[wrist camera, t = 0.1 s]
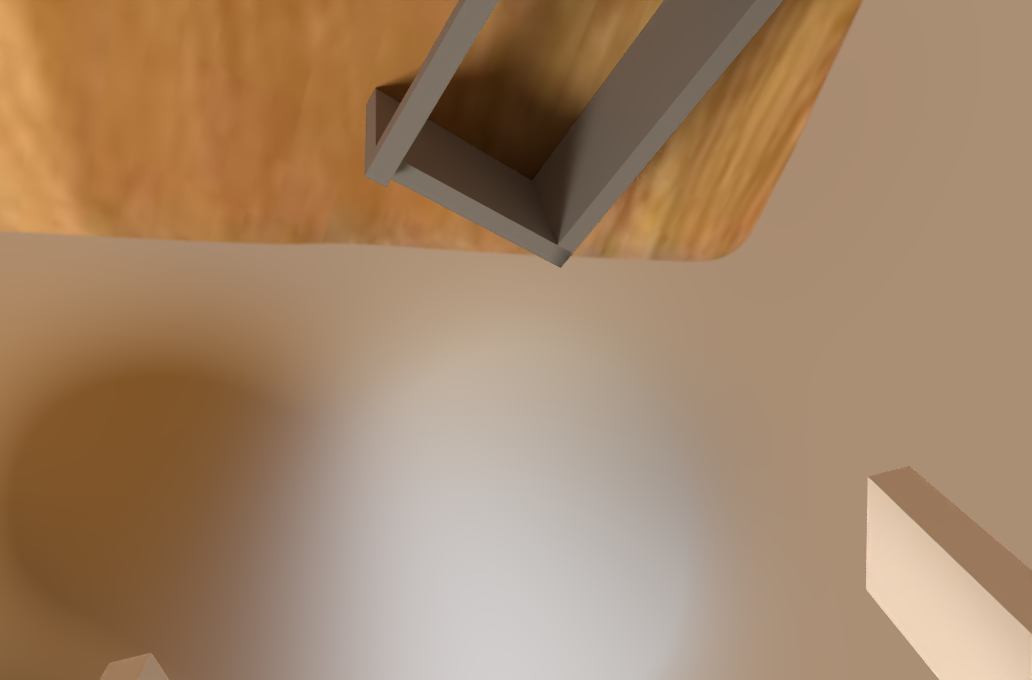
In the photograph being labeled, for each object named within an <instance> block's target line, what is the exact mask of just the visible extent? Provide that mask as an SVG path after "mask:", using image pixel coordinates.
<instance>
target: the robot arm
mask: <svg viewBox="0 0 1032 680" xmlns="http://www.w3.org/2000/svg"><path fill="white" fill-rule="evenodd" d="M867 502H868V503H867V563H866V565H867V566H866V590H867V591H868V592H869V593H870V594H871V596H872V597H873V598H874V599H875V601H876V602H877V603H878V604H879V606H880V607H881V608H882V609H883V610H884V612H885V613H886V614H887V615H888V617H889V618H890V619H891V620H892V622H893V623H894V624H895V625H896V627H897V628H898V629H899V630H900V631H901V633H902V634H903V635H904V636H905V638H906V639H907V640H908V641H909V643H910V644H911V645H912V646H913V647H914V649H915V650H916V651H917V652H918V654H919V655H920V656H921V657H922V659H923V660H924V661H925V662H926V663H927V665H928V666H929V667H930V668H931V670H932V671H933V672H934V673H935V675H936V676H937V677H938V678H939V680H1032V570H1031V569H1029V568H1028V567H1027V566H1026V565H1024V564H1023V563H1022V562H1021V561H1020V560H1019V559H1018V558H1016V557H1015V556H1014V555H1013V554H1012V553H1010V552H1009V551H1008V550H1007V549H1006V548H1005V547H1004V546H1002V545H1001V544H1000V543H999V542H998V541H996V540H995V539H994V538H993V537H992V536H991V535H989V534H988V533H987V532H986V531H985V530H983V529H982V528H981V527H980V526H979V525H978V524H977V523H975V522H974V521H973V520H972V519H971V518H970V517H968V516H967V515H966V514H965V513H964V512H962V511H961V510H960V509H959V508H958V507H956V506H955V505H954V504H953V503H952V502H951V501H950V500H948V499H947V498H946V497H945V496H944V495H943V494H941V493H940V492H939V491H938V490H936V489H935V488H934V487H933V486H932V485H931V484H930V483H928V482H927V481H926V480H925V479H924V478H923V477H921V476H920V475H919V474H918V473H917V472H916V471H914V470H913V469H912V468H911V467H905V468H901V469H897V470H893V471H889V472H885V473H881V474H876V475H873V476H868V501H867ZM100 680H169V679H168V677H167V676H166V674H165V673H164V671H163V670H162V668H161V667H160V665H159V664H158V662H157V661H156V659H155V658H154V656H153V655H152V653H148V654H144V655H140V656H136V657H132V658H128V659H124V660H120V661H116V662H111V663H109V664H108V666H107V668H106V670H105V671H104V673H103V675H102V677H101V678H100Z"/></svg>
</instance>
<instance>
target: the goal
mask: <svg viewBox="0 0 1032 680" xmlns="http://www.w3.org/2000/svg"><path fill="white" fill-rule="evenodd" d="M498 1H499V0H459V1H458V3H457V5H456V7H455V8H454V10H453V12H452V14H451V15H450V17H449V19H448V21H447V22H446V24H445V26H444V28H443V29H442V31H441V33H440V35H439V36H438V38H437V40H436V42H435V43H434V45H433V47H432V49H431V50H430V52H429V54H428V56H427V58H426V59H425V61H424V63H423V65H422V66H421V68H420V70H419V72H418V73H417V75H416V77H415V79H414V80H413V82H412V84H411V86H410V87H409V89H408V91H407V93H406V94H405V96H404V98H403V100H402V101H401V103H400V102H399V101H397V100H395V99H394V98H392V97H390V96H389V95H387V94H385V93H383V92H382V91H380V90H378V89H377V88H375V90H374V92H373V94H372V96H371V97H370V99H369V101H368V103H367V107H366V143H365V177H367V178H369V179H371V180H373V181H375V182H377V183H379V184H381V185H383V186H385V187H387V185H388V183H389V182H390V180H391V179H392V180H394V181H396V182H397V183H399V184H401V185H403V186H405V187H407V188H409V189H411V190H413V191H415V192H417V193H419V194H420V195H422V196H424V197H426V198H428V199H430V200H432V201H434V202H436V203H438V204H440V205H441V206H443V207H445V208H447V209H449V210H451V211H453V212H455V213H457V214H459V215H461V216H463V217H464V218H466V219H468V220H470V221H472V222H474V223H476V224H478V225H480V226H482V227H484V228H485V229H487V230H489V231H491V232H493V233H495V234H497V235H499V236H501V237H503V238H505V239H507V240H508V241H510V242H512V243H514V244H516V245H518V246H520V247H522V248H524V249H526V250H528V251H530V252H531V253H533V254H535V255H537V256H539V257H541V258H543V259H545V260H547V261H549V262H551V263H553V264H554V265H556V266H558V267H560V268H561V267H562V266H563V264H564V263H565V262H566V261H567V260H568V258H569V257H570V256H571V255H572V254H573V252H574V251H575V250H576V249H577V248H578V246H579V245H580V244H581V243H582V242H583V240H584V239H585V238H586V237H587V236H588V234H589V233H590V232H591V231H592V230H593V228H594V227H595V226H596V225H597V224H598V222H599V221H600V220H601V219H602V218H603V216H604V215H605V214H606V213H607V212H608V210H609V209H610V208H611V207H612V206H613V204H614V203H615V202H616V201H617V200H618V198H619V197H620V196H621V195H622V194H623V192H624V191H625V190H626V189H627V188H628V186H629V185H630V184H631V183H632V182H633V180H634V179H635V178H636V177H637V176H638V174H639V173H640V172H641V171H642V170H643V168H644V167H645V166H646V165H647V164H648V162H649V161H650V160H651V159H652V158H653V156H654V155H655V154H656V153H657V152H658V150H659V149H660V148H661V147H662V146H663V144H664V143H665V142H666V141H667V140H668V138H669V137H670V136H671V135H672V134H673V132H674V131H675V130H676V129H677V128H678V126H679V125H680V124H681V123H682V122H683V120H684V119H685V118H686V117H687V116H688V114H689V113H690V112H691V111H692V110H693V108H694V107H695V106H696V105H697V104H698V102H699V101H700V100H701V99H702V98H703V96H704V95H705V94H706V93H707V92H708V90H709V89H710V88H711V87H712V86H713V84H714V83H715V82H716V81H717V80H718V78H719V77H720V76H721V75H722V74H723V72H724V71H725V70H726V69H727V68H728V66H729V65H730V64H731V63H732V62H733V60H734V59H735V58H736V57H737V56H738V54H739V53H740V52H741V51H742V50H743V48H744V47H745V46H746V45H747V43H748V42H749V41H750V40H751V39H752V37H753V36H754V35H755V34H756V33H757V31H758V30H759V29H760V28H761V27H762V25H763V24H764V23H765V22H766V21H767V19H768V18H769V17H770V16H771V15H772V13H773V12H774V11H775V10H776V9H777V7H778V6H779V5H780V4H781V3H782V1H783V0H664V1H663V3H662V4H661V6H660V7H659V8H658V10H657V11H656V12H655V14H654V15H653V16H652V18H651V19H650V20H649V22H648V23H647V25H646V26H645V27H644V29H643V30H642V31H641V33H640V34H639V35H638V37H637V38H636V40H635V41H634V42H633V44H632V45H631V46H630V48H629V49H628V50H627V52H626V53H625V54H624V56H623V57H622V59H621V60H620V61H619V63H618V64H617V65H616V67H615V68H614V69H613V71H612V72H611V73H610V75H609V76H608V78H607V79H606V80H605V82H604V83H603V84H602V86H601V87H600V88H599V90H598V91H597V92H596V94H595V95H594V97H593V98H592V99H591V101H590V102H589V103H588V105H587V106H586V107H585V109H584V110H583V111H582V113H581V114H580V116H579V117H578V118H577V120H576V121H575V122H574V124H573V125H572V126H571V128H570V129H569V130H568V132H567V133H566V135H565V136H564V137H563V139H562V140H561V141H560V143H559V144H558V145H557V147H556V148H555V149H554V151H553V152H552V154H551V155H550V156H549V158H548V159H547V160H546V162H545V163H544V164H543V166H542V167H541V168H540V170H539V171H538V173H537V174H536V175H535V177H534V178H533V179H532V180H530V179H528V178H527V177H525V176H523V175H522V174H520V173H518V172H517V171H515V170H513V169H511V168H510V167H508V166H506V165H505V164H503V163H501V162H500V161H498V160H496V159H495V158H493V157H491V156H490V155H488V154H486V153H485V152H483V151H481V150H479V149H478V148H476V147H474V146H473V145H471V144H469V143H468V142H466V141H464V140H463V139H461V138H459V137H458V136H456V135H454V134H453V133H451V132H449V131H447V130H446V129H444V128H442V127H441V126H439V125H437V124H436V123H434V122H432V121H431V120H429V119H428V117H429V115H430V114H431V112H432V110H433V109H434V107H435V105H436V104H437V102H438V100H439V99H440V97H441V95H442V94H443V92H444V90H445V89H446V87H447V85H448V84H449V82H450V80H451V79H452V77H453V75H454V74H455V72H456V70H457V69H458V67H459V65H460V64H461V62H462V61H463V59H464V57H465V56H466V54H467V52H468V51H469V49H470V47H471V46H472V44H473V42H474V41H475V39H476V37H477V36H478V34H479V32H480V31H481V29H482V27H483V26H484V24H485V22H486V21H487V19H488V17H489V16H490V14H491V12H492V11H493V9H494V7H495V6H496V4H497V2H498Z"/></svg>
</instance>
